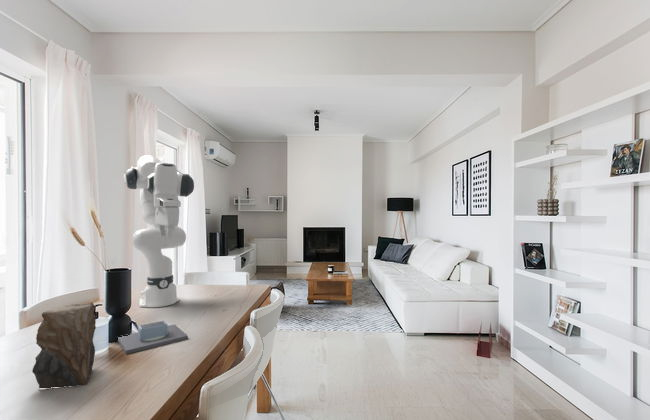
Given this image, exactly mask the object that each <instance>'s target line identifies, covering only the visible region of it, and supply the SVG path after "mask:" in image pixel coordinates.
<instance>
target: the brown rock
mask: <svg viewBox="0 0 650 420" xmlns="http://www.w3.org/2000/svg"><path fill="white" fill-rule="evenodd" d="M94 312H95V304H94V302H90V303H89V302H88V303H83V304H73V303H72V304H70V305H66V306H65V307H62V308H58V309H56V310H47V311H44V312H42V313H41V317H42V321H41V323H40V325H39V326H38V328H37V330H36V331H37V333H36V337H35V340H36V342H35V344H36V345H37V346H38V347H39V348H40V349H41V350H40V352H39V353H38V354H37V355H36V356H35V363H34V365H33V367H32V370H31V371H32V373H33V374H34V376H35V379H36V383H37V384H38V389H39V388H51V387H64V386H75V387H78V386H77V385H81V386H86V384H87V385H88V382H89V381H88V380H89V379H90V376H91V373H92V370H93V367H94V366H93V365H94V361H95V354H96V349H95V348H96V346H95V344H94V337H95V332H96V328H97V327H96V316H95V313H94ZM64 388H65V387H64Z"/></svg>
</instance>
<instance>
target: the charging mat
mask: <svg viewBox="0 0 650 420" xmlns="http://www.w3.org/2000/svg"><path fill="white" fill-rule="evenodd" d="M129 334H130V335H128V334H127V335H128V336H123V335H121V336H122V337H118V336H117V337H118V340H117V342H118V344H119V345H120V347H121V349H122V351H123V352H124V354H125V355H129V354H133V353H137V352H140V351H144V350H147V349H152V348H157V347H160V346H161V347H162V346H165V345H168V344H172V343H177V342H180V341H185V340H188V339H189V336H188V334H186V332H185V331H183V330H182V329H181V328H179V327H178V326H177V324H170V325H168V335H164V336H160V337H155V338H151V339H146V340H141V341H140V340H139V338H138V331H137V332H131V333H129Z"/></svg>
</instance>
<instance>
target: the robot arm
mask: <svg viewBox="0 0 650 420" xmlns="http://www.w3.org/2000/svg"><path fill="white" fill-rule="evenodd" d="M136 164H137V165H136V167H134V166H131V167H130V168H128V169H127V170H125V171H124V173H123V181H124V185H126V187H127V188H128V189H131V190H137V189H140V190H139V191H140V192H139V203H140V204H139V205H140V209H141V213H142V218H143V220H144V222H145V223H147V224H148V225H150V226H153V227H148V228H141V229H138V230H136V231H135V232H134V233H133V236H132V238H131V240H132V244H133V246H134V248H135V249H136V250H139V252H141V253H142V254H143V255H144V257H145V259H146V262H147V271H148V274H147V275H148V276H147V278H146V284H147V285H146V287H145V288H144V290H142V291H141V292H140V296H141V298H139V307H140V308H160V307H166V306H171V305H174V304H175V303H177V302H179V301H181V299H180V298H179V297H178V294H177V292H178V291H177V285H176V284H174V275H173V261H172V259H171V258H170V257H169V256H166V255H164V254H163V252H162V250H166V249H174V248H178V247H181V246H183V245H184V244H185V243H186V240H187V234H186V231H185V230H184V228H181V227H179V226H178V225H179V222H180V221H179V220H180V207H181V201H180V199H179V197H185V198H187V197H189V196H190V195H191V194H193V191H194V189H195V182H194V179H193V178H192V176H191V175H190V174H188V173H182V172H181V171H180V170H177V166H176V164H173V163H168V162H162V161H160V160H159V159H158V158H157V157H155V156H152V155H149V154H147V155H146V154H145V155H142V156H140V158H138V160H137V163H136Z"/></svg>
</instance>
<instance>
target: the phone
mask: <svg viewBox="0 0 650 420" xmlns="http://www.w3.org/2000/svg"><path fill="white" fill-rule="evenodd" d="M168 326H169V325H168V323H167V322H166V320H161V321H156V322H155V321H154V322H151V323H150V322H149V323H145V324H140V325H139V324H138V325H137V332H138V338H139V340H140V341H141V340H146V339H151V338H155V337H160V336H164V335H168Z"/></svg>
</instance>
